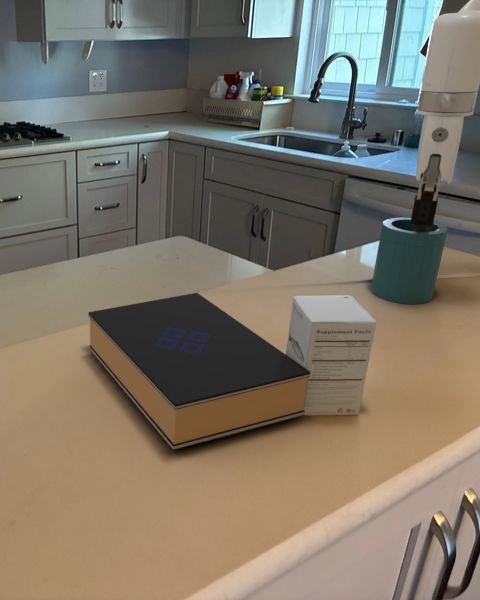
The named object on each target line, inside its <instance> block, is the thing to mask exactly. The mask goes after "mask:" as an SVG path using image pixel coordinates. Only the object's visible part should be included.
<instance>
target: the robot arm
mask: <svg viewBox="0 0 480 600" xmlns="http://www.w3.org/2000/svg"><path fill="white" fill-rule="evenodd" d="M425 56H426V57H425V62H424V67H423V73H422V77H421V84H420V87H419V94H418V99H417V103H416V110H415V114H417V115H422V116H423V120H422V126H421V131H420V137H419V143H418V149H417V157H416V169H415V170H416V171H415V180H416V181H417V182H419V184H418V185H419V186H418V190H417V194H415V197H414V202H413V206H412V211H411V215H410V216H411V217H410V218H411V224H416V225H425V226H432V225H433V222H435V216H436V213H437V207H438V203H439V201H438V199H439V191H440V186H441V182H445V185H449V184H451V183H452V182H453V177H454V172H455V168H456V162H457V158H458V153H459V148H460V143H461V139H462V132H463V127H464V121H465V117H470V116H473V115H474V111H475V106H476V103H477V98H478V94H479V89H480V0H468V2H466V3H465V4H464V5H463V6H462V7H461V9H460V10H458V12H448V13H444V14H440V15H439V16H437V17H436V18H435V19H434V21H433V23H432V26H431V29H430V35H429V40H428V45H427V50H426V55H425ZM441 180H442V181H441ZM421 194H422V195H421Z"/></svg>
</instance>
